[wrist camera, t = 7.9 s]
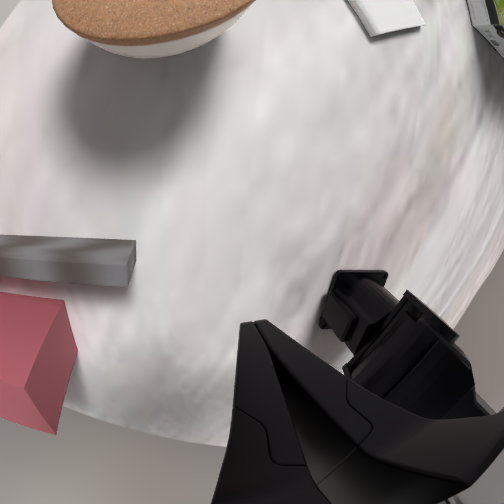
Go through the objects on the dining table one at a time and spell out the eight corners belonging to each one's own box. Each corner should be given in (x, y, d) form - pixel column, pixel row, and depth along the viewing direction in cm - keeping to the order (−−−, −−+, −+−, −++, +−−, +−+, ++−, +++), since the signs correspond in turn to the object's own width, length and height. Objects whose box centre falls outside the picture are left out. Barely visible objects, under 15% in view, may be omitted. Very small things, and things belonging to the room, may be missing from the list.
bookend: (135, 240, 19) (95, 366, 8) (145, 365, 24) (145, 477, 13) (-57, 233, 12) (-125, 293, 2) (-24, 336, 17) (-61, 409, 7)
